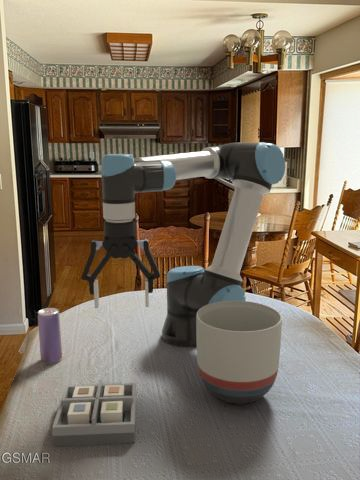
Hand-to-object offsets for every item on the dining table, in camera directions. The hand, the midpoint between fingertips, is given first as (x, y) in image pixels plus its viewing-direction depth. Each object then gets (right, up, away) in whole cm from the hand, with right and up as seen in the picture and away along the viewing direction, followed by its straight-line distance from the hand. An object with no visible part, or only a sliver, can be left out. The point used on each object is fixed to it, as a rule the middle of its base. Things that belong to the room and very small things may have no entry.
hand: (122, 305), depth 119 cm
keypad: (-4, -25, -10) cm, 27 cm away
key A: (-1, -22, -7) cm, 23 cm away
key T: (-8, -23, -14) cm, 28 cm away
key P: (-1, -23, -13) cm, 27 cm away
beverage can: (-23, -19, +20) cm, 36 cm away
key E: (-8, -22, -7) cm, 24 cm away
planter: (+29, -23, +1) cm, 37 cm away
